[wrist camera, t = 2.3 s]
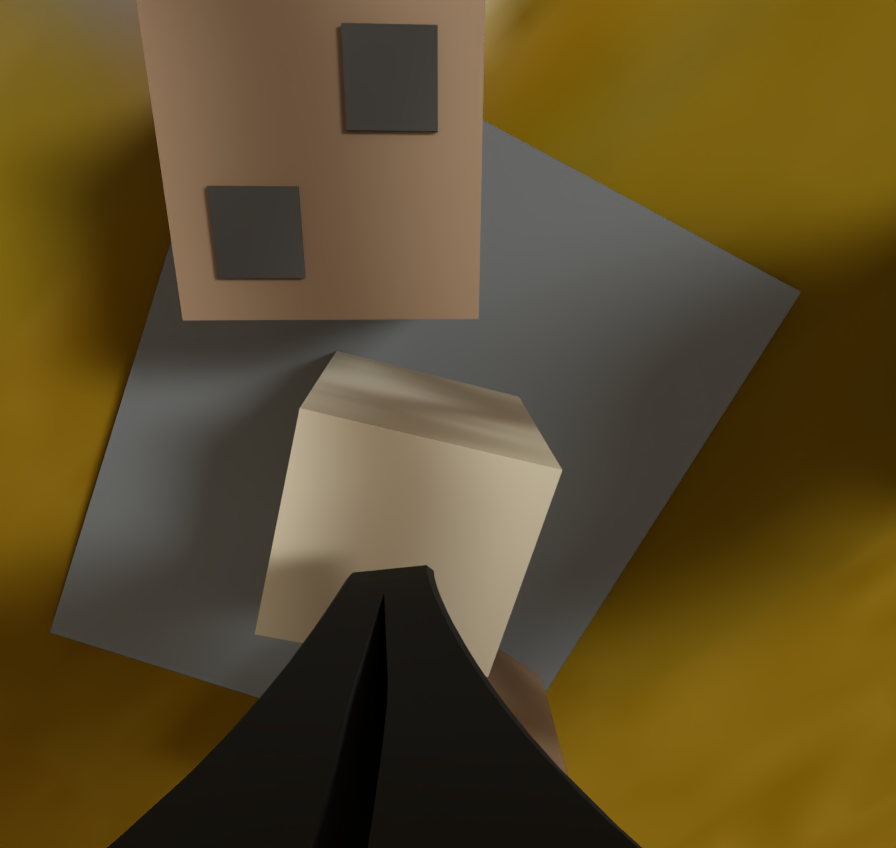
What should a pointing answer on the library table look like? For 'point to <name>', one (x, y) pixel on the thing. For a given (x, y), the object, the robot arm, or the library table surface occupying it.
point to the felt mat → (441, 354)
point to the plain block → (408, 497)
